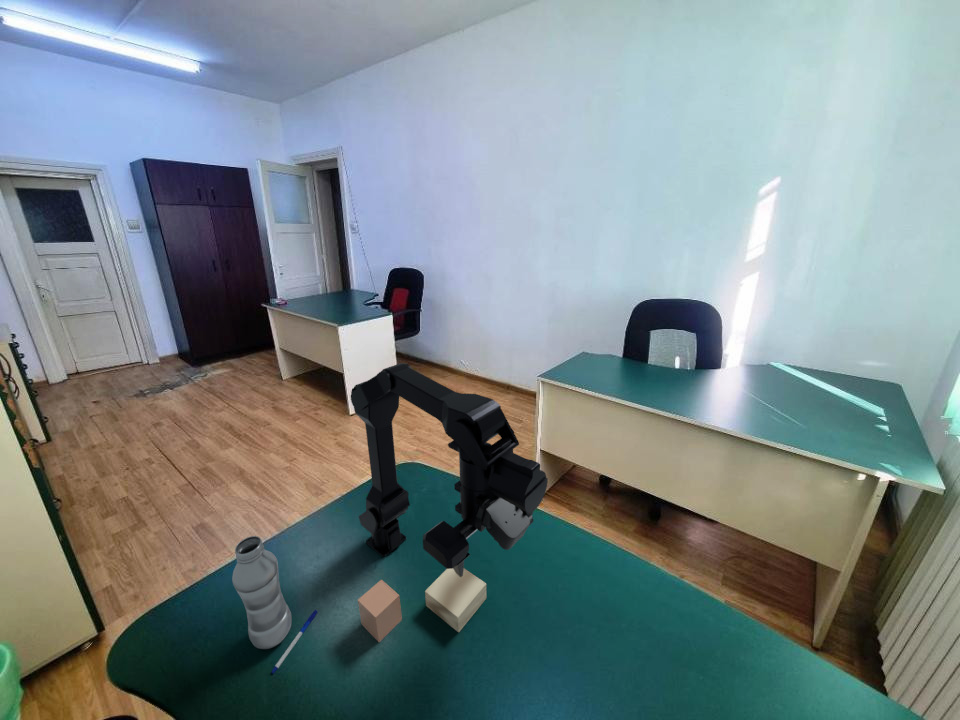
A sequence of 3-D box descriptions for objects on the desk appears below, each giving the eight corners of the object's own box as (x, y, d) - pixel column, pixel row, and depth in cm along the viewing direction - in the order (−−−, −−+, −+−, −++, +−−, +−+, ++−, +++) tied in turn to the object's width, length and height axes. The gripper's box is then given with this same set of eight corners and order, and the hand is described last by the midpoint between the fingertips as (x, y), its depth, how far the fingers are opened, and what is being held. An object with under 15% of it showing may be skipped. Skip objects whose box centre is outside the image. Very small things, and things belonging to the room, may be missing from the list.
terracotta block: (361, 624, 66) (357, 599, 64) (384, 603, 70) (381, 579, 68) (379, 642, 63) (375, 617, 61) (402, 619, 67) (399, 595, 65)
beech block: (426, 606, 69) (424, 591, 68) (454, 576, 75) (454, 561, 74) (458, 633, 64) (458, 617, 63) (486, 599, 70) (486, 583, 69)
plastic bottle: (251, 663, 60) (220, 570, 53) (253, 626, 66) (226, 537, 59) (294, 643, 63) (271, 552, 56) (293, 609, 69) (271, 523, 62)
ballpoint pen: (314, 611, 68) (313, 607, 68) (318, 612, 68) (317, 608, 68) (271, 674, 59) (269, 670, 59) (275, 675, 59) (274, 671, 58)
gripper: (475, 544, 45) (476, 633, 50) (557, 472, 58) (551, 549, 63) (417, 501, 52) (423, 583, 57) (501, 446, 65) (500, 517, 70)
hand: (479, 556), depth 62 cm, fingers open, 9 cm apart
